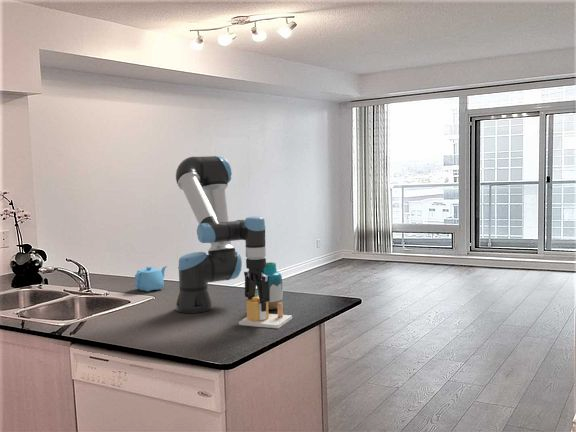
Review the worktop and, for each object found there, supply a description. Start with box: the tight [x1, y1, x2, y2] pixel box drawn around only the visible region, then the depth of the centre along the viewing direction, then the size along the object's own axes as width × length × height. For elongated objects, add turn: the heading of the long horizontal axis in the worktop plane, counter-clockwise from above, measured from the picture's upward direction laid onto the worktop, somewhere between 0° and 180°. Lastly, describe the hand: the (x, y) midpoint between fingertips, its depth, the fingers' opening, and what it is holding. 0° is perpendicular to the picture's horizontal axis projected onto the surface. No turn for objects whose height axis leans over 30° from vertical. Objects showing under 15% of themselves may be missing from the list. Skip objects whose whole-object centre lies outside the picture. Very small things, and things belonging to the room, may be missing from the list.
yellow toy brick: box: [246, 296, 270, 321], centre depth 213 cm, size 6×6×8 cm
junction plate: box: [238, 301, 293, 329], centre depth 213 cm, size 16×14×7 cm
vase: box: [256, 261, 284, 310], centre depth 232 cm, size 11×11×19 cm
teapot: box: [134, 265, 168, 293], centre depth 276 cm, size 12×18×12 cm
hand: (257, 317), depth 214 cm, fingers closed on yellow toy brick, 6 cm apart
